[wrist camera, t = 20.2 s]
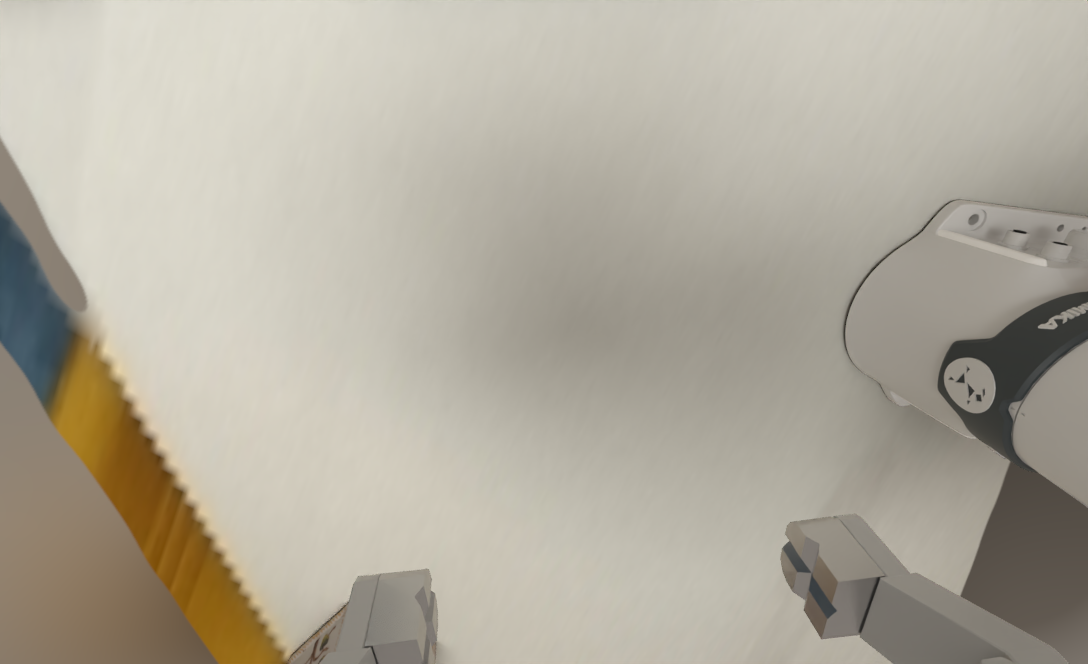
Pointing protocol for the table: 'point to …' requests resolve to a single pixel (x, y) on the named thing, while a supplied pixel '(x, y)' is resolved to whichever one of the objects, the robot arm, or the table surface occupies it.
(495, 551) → the table surface
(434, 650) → the decorative jar
